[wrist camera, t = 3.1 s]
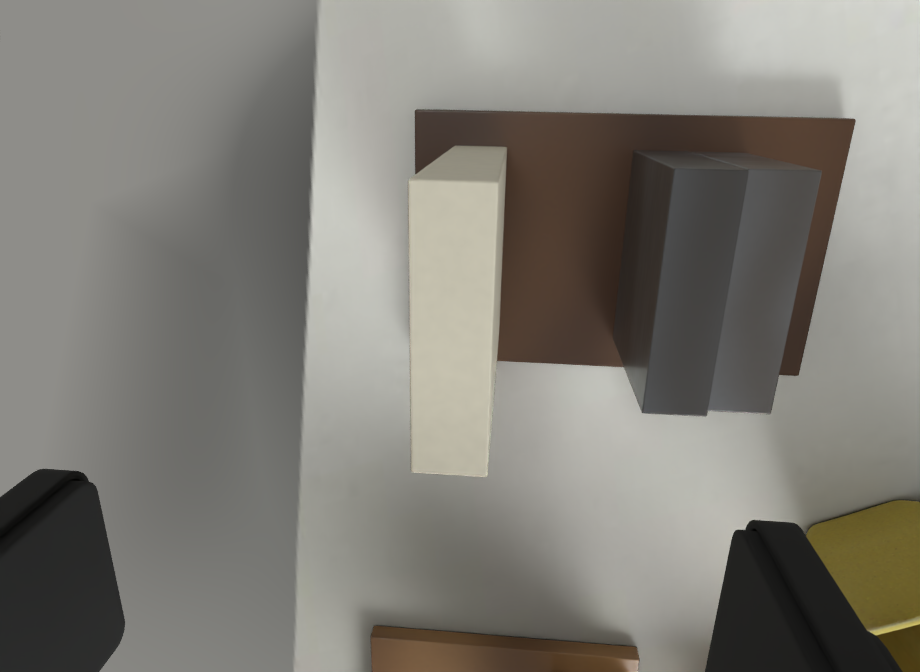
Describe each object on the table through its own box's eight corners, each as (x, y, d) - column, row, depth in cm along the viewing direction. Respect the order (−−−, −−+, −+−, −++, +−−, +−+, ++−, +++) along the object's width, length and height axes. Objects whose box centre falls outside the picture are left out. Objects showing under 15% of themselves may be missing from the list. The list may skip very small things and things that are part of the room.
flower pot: (964, 583, 36) (1102, 732, 27) (805, 625, 38) (888, 777, 29) (930, 457, 33) (1070, 578, 25) (762, 509, 35) (839, 638, 27)
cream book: (451, 331, 32) (410, 473, 20) (454, 145, 29) (407, 178, 17) (499, 333, 32) (487, 478, 20) (507, 146, 29) (498, 181, 17)
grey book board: (418, 349, 34) (386, 433, 25) (417, 109, 29) (377, 113, 21) (791, 368, 32) (887, 463, 24) (845, 118, 28) (985, 126, 20)
